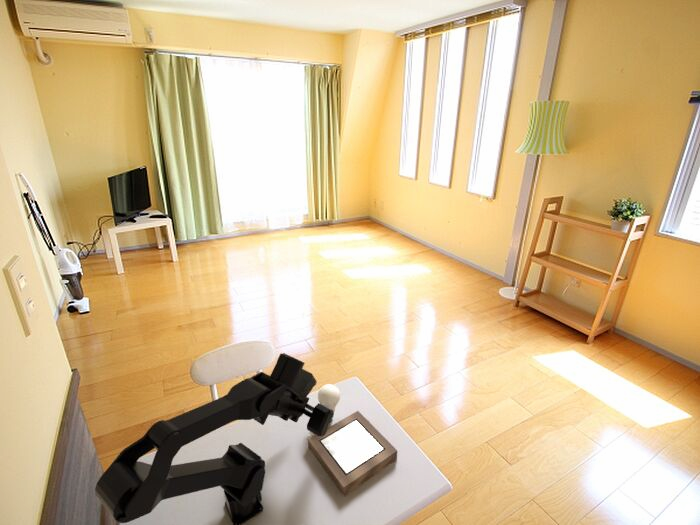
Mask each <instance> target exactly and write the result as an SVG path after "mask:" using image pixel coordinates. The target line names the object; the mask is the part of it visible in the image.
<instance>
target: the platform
mask: <svg viewBox="0 0 700 525" xmlns="http://www.w3.org/2000/svg"><path fill="white" fill-rule="evenodd" d="M321 444H322V446H323V447H324V448H325V449H326V451H327V452H328V453H329V455H330V456H331V457H332V458H333V460H334V461H335V462H336V464H337V465H338V466H339V467H340V469H341V470H342V471H343V473H344V474H345V475H348V474H349V473H351V472H352V471H354V470H355V469H357V468H358V467H360V466H361V465H363V464H364V463H366V462H367V461H369V460H370V459H372V458H373V457H375V456H376V455H378V454H379V453H381V452H382V451H383V448H382V447H381V446H380V445H379V444H378V443H377V441H376V440H375V439H374V438H373V437H372V436H371V435H370V434H369V433H368V432H367V431H366V430H365V429H364V428H363V427H362V426H361V425H360V424H359V423H358V421H357V420H356V421H354V422H352V423H351V424H349V425H347V426H346V427H344V428H342V429H340V430H339V431H337V432H335V433H333V434H332V435H330V436H328V437H327V438H325V439H323V440H321Z"/></svg>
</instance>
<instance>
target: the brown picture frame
mask: <svg viewBox="0 0 700 525" xmlns="http://www.w3.org/2000/svg"><path fill="white" fill-rule="evenodd" d="M356 420H357V421H358V423H359V424H360V425H361V426H362V427H363V428H364V429H365V430H366V431H367V432H368V433H369V434H370V435H371V436H372V437H373V438H374V439H375V440H376V441H377V443H378V444H379V445H380V446H381V447H382V448H383V451H382V452H381V453H379V454H378V455H376V456H375V457H373V458H372V459H370V460H369V461H367V462H366V463H364V464H363V465H361V466H360V467H358V468H357V469H355V470H354V471H352V472H351V473H349V474H348V475H345V474H344V473H343V471H342V470H341V469H340V467H339V466H338V465H337V464H336V462H335V461H334V460H333V458H332V457H331V456H330V455H329V453H328V452H327V451H326V449H325V448H324V447H323V446H322V444H321V440H323V439H325V438H327V437H328V436H330V435H332V434H333V433H335V432H337V431H339V430H340V429H342V428H344V427H346V426H347V425H349V424H351V423H352V422H354V421H356ZM307 446H308V449H309V451H310V452H311V454H312V455H313V456H314V458H315V459H316V460H317V462H318V463H319V464H320V465H321V467H322V468H323V471H325V473H326V474H327V475H328V477H329V478H330V480H331V481H332V482H333V483H334V485H335V487H336V488H337V489H338V490H339V492H340V493H341V494H342V496H343V497H346V496H347V495H349V494H350V493H352V492H353V491H354V490H356V489H357V488H358V487H360V486H362V485H363V484H364V483H365V482H366V481H368V480H370V479H372V477H373V478H374V476H376V475H377V474H378V473H380V472H381V471H383V470H384V469H386V468H387V467H388V466H390V465H391V464H392V463H394V462H396V461H397V460H398V450H397V449H396V447H394V445H392V443H391V442H390V441H389V440H388V439H387V438H385V436H383V435H382V433H381V432H380V431H378V429H377V428H376V427H375V426H374V425H373V424H372V423H371V422H370V420H368V419H367V418H366V417H365V416H364V415H363V414H362V413H361V412H360V411H359V410H357V411H355V412H353V413H351V414H349V415H348V416H346V417H344V418H343V419H341V420H339V421H337V422H336V423H334V424H332V425H329V427H328V429H327V432H326V434H325V436H322V437H321V436H317V435H315V434H314V435H313V436H311V437H309V438H307Z"/></svg>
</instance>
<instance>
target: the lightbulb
mask: <svg viewBox="0 0 700 525" xmlns="http://www.w3.org/2000/svg"><path fill="white" fill-rule="evenodd" d="M340 392H341V391H340V390H339V388H338V387H337V386H336V385H334V384H330V383H328V384H324V385H323V386H321V387H320V389H319V390H318V392H317V400H318V403H319V404H322V405H324V406H326V407H328V408H330V409H332V410H333V412H334V413H335V411H336V406H337V405H338V403H339V402H340V400H341V393H340ZM334 416H335V414H334V415H333V417H332V419H334Z"/></svg>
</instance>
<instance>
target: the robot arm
mask: <svg viewBox="0 0 700 525" xmlns="http://www.w3.org/2000/svg"><path fill="white" fill-rule="evenodd" d="M304 366H305V362H304V361H302V360H299V359H298V358H296V357H294V356H292V355H289V354H287V353H284V352H283V353H279V356H278V358H277V361H276V363H275V365H274V367H273V369H272V371H271V373H270V374H267V373H265V372H263V371H260V372H259V373H256V374H254V375H253V376H251V377H248V378H245V379H242V381H239V382H237V383H235V384H234V385H232V386H231V388H230V389H229V391H228V392H227V394H225V395H223V396H221V397H219V398H217V399H215V400H214V399H213V400H212V401H210V402H207V403H205V404H203V405H200V406H198V407H195V408H193V409H191V410H188V411H186V412H184V413H182V414H179V415H176V416H174V417H172V418H169V419H167V420H163V419H162V420H158V421H156V422H154V423H153V424H152V425H151V426H150V427H149V429H148V430H147V431H146V433H145V434H144V435H143V436H142V437H140V438H139V439H137V440H136V441H135V442H133V443H131V444H129V445H128V446H126V447H125V448H124V449H123V450H121V452H119V454H118V455H117V456H116V458H115V459H114V460H113V461H112V462H111V464H110V465H109V467H108V468H106V470H105V471H104V472H103V473H102V475H101V476H100V477H99V480H98V481H97V483H96V485H95V487H94V494H95V497H96V498H97V499H98V501H99V502H100V503H101V504H102V505H103V507H104V508H105V509H106V510H107V512H109V514H110V515H111V517H112V518H113V519H114V521H116V522H117V523H119V524H127V523H129V522H132V521H135V520H137V519H140V518H142V517H144V516H147V515H149V514H150V513H152V511H153V510H154V509H155V508H156V507H157V506H158V505H159V504H160V503H161V502H162V501H164V500H167V499H172V498H176V497H180V496H184V495H185V496H186V495H189V494H193V493H197V492H200V491H206V490H209V489H212V488H217V487H220V488H221V489H223V493H224V494H223V495H224V499H225V502H224V506H225V508H226V511H227V513H228V515H229V518H230V521H231V524H232V525H243V524H244V523H246V522H247V521H249V520H252V518H253V517H255V516H257V515H259V514H260V513H262V512H263V511H264V507H263V504H262V501H263V497H262V490H263V488H264V487H263V486H264V482H265V477H266V476H265V475H266V469H265V468H266V461H265V460H264V459H262V457H261V456H260V455H259V454H257V453H256V452H255V451H254V450H252V449H251V448H249V447H248V446H246V445H245V444H244V443H242V442H239V443H237V444H229V445H228V448H227V451H225V453H224V454H223V456H222V457H217V458H216V457H215V458H209V459H204V460H203V459H202V460H198V461H192V462H186V463H184V462H183V463H178V464H172V463H173V460H174V458H175V457H176V455H177V454H178V452H179V451H180V450H181V449H182V447H184V446H186V445H188V444H190V443H192V442H194V441H196V440H198V439H201V438H203V437H204V436H207V435H208V434H210V433H212V432H214V431H216V430H219V429H221V428H222V427H224V426H227V425H229V424H231V423H233V422H235V421H250V420H254V421H256V422H257V423H259V424H260V425H262V426H263V425H264V424H266V422H267V419H268V417H269V416H272V417H274V416H275V417H278V418H280V419H282V420H284V421H285V422H288V420H290V421H292V422H294V423H298V420H299V419H300V418H301V417H302V416H303V415H304V416H306V417H309V419H308V422H307V423H306V430H307V431H309V432H310V433H313V434H314V435H317V436H321V437H322V436H325V434H326V432H327V429H328V427H330V425H331V421H332V420H333V418H334V417H333V415H334V416H335V411H334V412H333V410H332V409H330V408H328V407H326V406H324V405H322V404H320V403H319V402H318V403H317V404H316V405H315V406H312V405H311V404H309V401H310V397H308V395H309V394H310V393H311V392H312V390H313V388H314V387H315V386H316V385H317V379H316V378H315V376H314V374H313V372H310V371H308V370H306V369H303V368H304ZM332 417H333V418H332ZM154 449H155V450H156V452H155V454H154V456H153V460H152V463H147V462H144V461H138V460H139V459H140V458H142V457H143V456H145V455H146V454H148V453H149V452H151V451H152V450H154Z"/></svg>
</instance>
